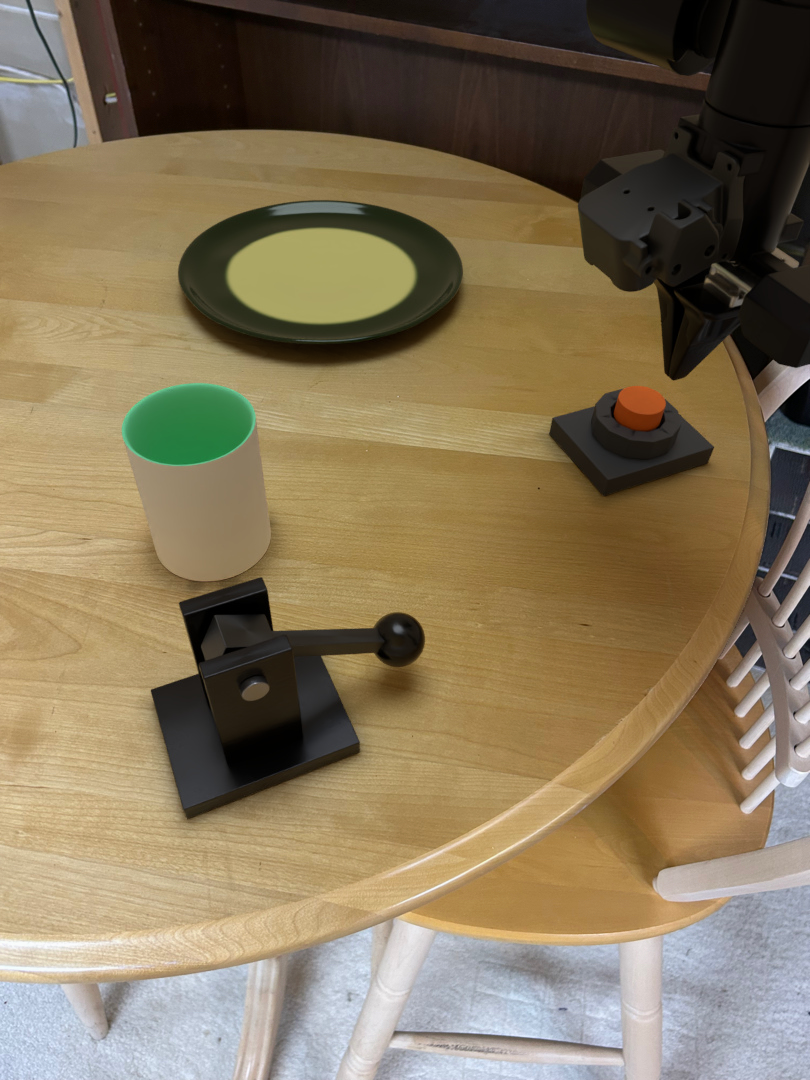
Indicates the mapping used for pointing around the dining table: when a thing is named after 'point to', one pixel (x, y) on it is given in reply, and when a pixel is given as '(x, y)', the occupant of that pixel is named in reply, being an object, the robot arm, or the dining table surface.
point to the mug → (200, 479)
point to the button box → (627, 446)
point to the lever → (321, 638)
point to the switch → (247, 710)
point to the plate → (320, 272)
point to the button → (639, 408)
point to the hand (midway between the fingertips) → (674, 376)
